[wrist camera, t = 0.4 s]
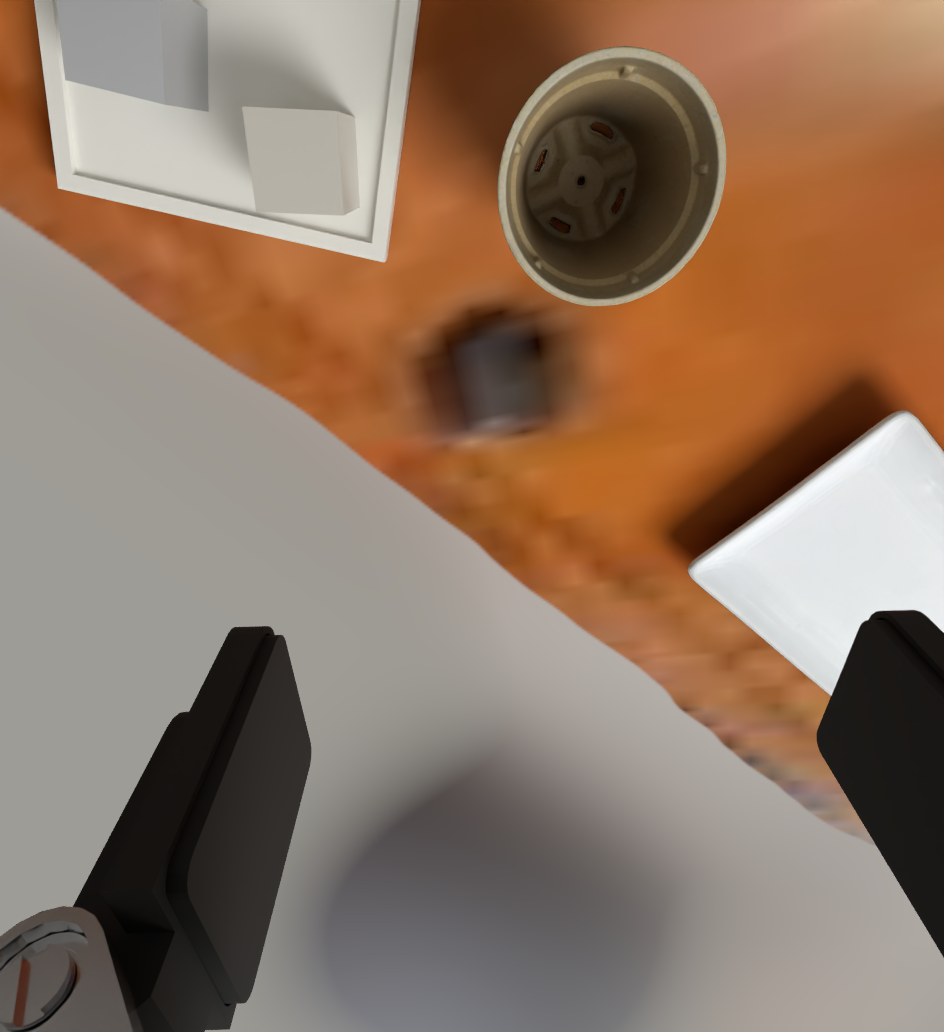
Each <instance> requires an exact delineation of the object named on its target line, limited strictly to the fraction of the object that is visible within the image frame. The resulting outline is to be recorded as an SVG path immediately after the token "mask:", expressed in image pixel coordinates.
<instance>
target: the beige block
mask: <svg viewBox="0 0 944 1032" xmlns="http://www.w3.org/2000/svg"><path fill="white" fill-rule="evenodd" d="M242 111H243V119H244V126H245V133H246V141H247V148H248V156H249V163H250V171H251V178H252V185H253V193H254V200H255V208H256V212H270V213H294V214H317V215H341V216H344V215H346V214H348V213H350V212H352V211H354V210H356V209H358V208H360V198H359V179H358V160H357V141H356V122H355V117H353V116H350V115H347V114H344V113H341V112H338V111H327V110H305V109H284V108H262V107H242Z"/></svg>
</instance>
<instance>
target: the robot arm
mask: <svg viewBox="0 0 944 1032" xmlns="http://www.w3.org/2000/svg"><path fill="white" fill-rule="evenodd" d="M817 744H818V747H819V750H820V752H821V754H822V756H823V758H824V759H825V761H826V763H827V764H828V766H829V768H830V769H831V771H832V773H833V774H834V776H835V778H836V779H837V781H838V783H839V784H840V786H841V788H842V789H843V791H844V793H845V794H846V796H847V798H848V799H849V801H850V803H851V804H852V806H853V808H854V809H855V811H856V813H857V814H858V816H859V818H860V819H861V821H862V823H863V824H864V826H865V828H866V829H867V831H868V832H869V834H870V836H871V837H872V839H873V841H874V842H875V844H876V846H877V847H878V849H879V850H880V852H881V854H882V856H883V857H884V859H885V861H886V862H887V864H888V866H889V867H890V869H891V871H892V872H893V874H894V876H895V877H896V879H897V881H898V882H899V884H900V886H901V887H902V889H903V890H904V892H905V894H906V895H907V897H908V899H909V900H910V902H911V904H912V905H913V907H914V909H915V911H916V912H917V914H918V915H919V917H920V919H921V920H922V922H923V924H924V925H925V927H926V929H927V930H928V932H929V934H930V935H931V937H932V939H933V940H934V942H935V943H936V945H937V947H938V949H939V950H940V952H941V953H942V955H943V957H944V633H943V632H942V631H941V630H940V629H939V628H938V627H937V626H936V625H935V624H934V623H933V622H932V621H931V620H930V619H929V618H928V617H927V616H926V615H925V614H923V613H922V612H920V611H917V610H890V611H876V612H875V613H873V614H872V615H871V616H870V618H869V620H866V621H864V622H863V623H862V624H861V625H860V627H859V629H858V632H857V634H856V637H855V639H854V642H853V644H852V647H851V649H850V652H849V654H848V656H847V659H846V661H845V664H844V666H843V669H842V671H841V674H840V676H839V679H838V681H837V683H836V686H835V688H834V691H833V693H832V696H831V698H830V701H829V703H828V706H827V708H826V710H825V713H824V715H823V718H822V720H821V723H820V725H819V728H818V731H817ZM310 761H311V743H310V738H309V734H308V730H307V726H306V722H305V719H304V714H303V710H302V706H301V702H300V698H299V694H298V690H297V686H296V682H295V677H294V673H293V669H292V665H291V661H290V657H289V653H288V649H287V645H286V641H285V638H284V637H283V636H282V635H274V632H273V630H272V628H271V627H268V626H262V627H234V628H233V629H231V631H230V632H229V633H228V635H227V637H226V639H225V641H224V643H223V646H222V647H221V649H220V651H219V653H218V655H217V657H216V659H215V661H214V663H213V665H212V668H211V669H210V671H209V673H208V675H207V677H206V679H205V681H204V684H203V685H202V687H201V689H200V691H199V693H198V695H197V698H196V699H195V702H194V703H193V705H192V707H191V709H190V711H189V712H182V713H179V714H178V715H177V716H176V717H174V718H173V719H172V721H171V722H170V724H169V725H168V727H167V729H166V731H165V732H164V734H163V736H162V738H161V740H160V742H159V744H158V746H157V748H156V750H155V751H154V753H153V755H152V757H151V759H150V761H149V763H148V765H147V767H146V769H145V771H144V772H143V774H142V776H141V778H140V780H139V782H138V784H137V786H136V788H135V790H134V792H133V793H132V795H131V797H130V799H129V801H128V803H127V805H126V807H125V809H124V810H123V812H122V814H121V816H120V818H119V820H118V822H117V824H116V826H115V828H114V829H113V831H112V833H111V835H110V837H109V839H108V841H107V843H106V845H105V847H104V848H103V850H102V852H101V854H100V856H99V858H98V860H97V862H96V864H95V866H94V868H93V870H92V871H91V873H90V875H89V877H88V879H87V881H86V883H85V885H84V887H83V888H82V891H81V893H80V894H79V896H78V898H77V900H76V902H75V904H74V906H73V907H65V906H63V907H58V908H54V909H50V910H46V911H42V912H39V913H38V914H36V915H33V916H31V917H30V918H28V919H26V920H24V921H21V922H19V923H18V924H16V925H15V926H14V927H13V928H11V929H10V930H8V931H7V932H6V933H4V934H3V935H2V936H0V1032H204V1031H205V1030H219V1029H220V1030H221V1029H230V1026H231V1023H232V1018H233V1015H234V1011H235V1008H236V1004H237V1003H245V1002H247V1000H248V998H249V997H250V994H251V992H252V989H253V986H254V982H255V978H256V974H257V971H258V966H259V963H260V959H261V955H262V951H263V947H264V943H265V939H266V935H267V931H268V928H269V924H270V919H271V915H272V912H273V908H274V904H275V900H276V896H277V892H278V888H279V885H280V881H281V877H282V873H283V869H284V865H285V861H286V857H287V853H288V849H289V845H290V842H291V838H292V834H293V830H294V826H295V822H296V818H297V814H298V810H299V806H300V802H301V799H302V794H303V790H304V787H305V783H306V779H307V775H308V771H309V767H310Z"/></svg>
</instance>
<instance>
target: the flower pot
mask: <svg viewBox="0 0 944 1032" xmlns="http://www.w3.org/2000/svg"><path fill="white" fill-rule="evenodd" d="M594 122H595V123H602V124H604V125H605V126H608V127H609V128H610V129H611V130H612V132H613V137H612V138H611V139H609V138H608V137H606V136H604V135H602V134H600V133H598V132H596V131H593V130H592V129H591V125H592V123H594ZM544 150H548V152H547V154H546V157H545V160H544V161H545V164H544V163H543V165H542V166H541V168H540V171H538V172H537V171H535V168H536V165H537V162H538V160H539V157H540V155H541V153H542V152H543V151H544ZM725 176H726V144H725V137H724V132H723V129H722V123H721V120H720V117H719V115H718V112H717V109H716V106H715V103H714V102H713V101H712V98H711V97H710V95H709V94H708V92H707V90H706V89H705V87H704V86H703V85H702V83H701V82H700V81H699V80H698V78H697V77H696V76H694V75H693V73H692V72H690V71H689V70H688V69H686V68H685V67H684V66H682V65H681V64H680V63H679V62H677V61H676V60H673V59H671V58H670V57H668V56H666V55H663V54H661V53H659V52H655V51H652V50H649V49H645V48H638V47H630V46H621V47H610V48H605V49H601V50H595V51H592V52H589V53H587V54H585V55H582V56H580V57H578V58H576V59H574V60H572V61H570V62H568V63H567V64H565V65H564V66H562V67H560V68H559V69H558V70H556V71H555V72H554V73H552V74H551V75H550V76H549V77H548V78H547V79H546V80H545V81H544V82H543V83H542V84H541V85H540V86H539V87H538V88H537V89H536V90H535V92H534V93H533V94H532V95H531V96H530V97H529V99H528V100H527V102H526V103H525V105H524V106H523V107H522V109H521V111H520V113H519V114H518V116H517V118H516V120H515V122H514V124H513V126H512V128H511V131H510V133H509V135H508V138H507V141H506V143H505V146H504V150H503V154H502V158H501V163H500V169H499V175H498V207H499V213H500V219H501V223H502V228H503V231H504V234H505V237H506V240H507V242H508V245H509V247H510V249H511V251H512V253H513V255H514V257H515V258H516V260H517V261H518V263H519V264H520V266H521V267H522V268H523V270H524V271H525V272H526V273H527V275H528V276H529V277H530V278H531V279H533V280H534V281H535V282H536V283H537V284H538V285H539V286H541V287H542V288H543V289H544V290H546V291H548V292H550V293H551V294H553V295H555V296H557V297H559V298H561V299H563V300H566V301H569V302H572V303H576V304H581V305H587V306H607V305H617V304H621V303H627V302H630V301H632V300H635V299H637V298H640V297H643V296H644V295H647V294H649V293H651V292H653V291H654V290H656V289H658V288H659V287H661V286H662V285H663V284H665V283H666V282H667V281H669V280H670V279H671V278H673V277H674V276H675V275H676V274H677V273H678V272H679V271H680V270H681V269H682V268H683V267H684V266H685V265H686V263H687V262H688V261H689V260H690V259H691V258H692V257H693V255H694V254H695V252H696V251H697V249H698V248H699V247H700V245H701V243H702V242H703V240H704V239H705V237H706V235H707V233H708V231H709V229H710V227H711V225H712V223H713V220H714V218H715V216H716V213H717V211H718V208H719V205H720V201H721V197H722V193H723V187H724V183H725ZM580 177H584V178H585V184H584V185H581V186H580V185H578V179H579V178H580ZM622 188H624V189H625V192H624V198H623V201H622V204H621V206H620V208H619V210H618V212H617V213H616V214H614V213H612V211H611V207H612V205H613V203H614V202H615V201H616V199H617V197H618V194H619V192H620V190H621V189H622ZM552 218H556V219H558V220H560V221H562V222H564V223H565V224H568V225H570V230H569V232H568V233H562V232H560V231H558V230H557V229H556V228H555V227H553V226H552V225H551V224H550V221H551V219H552Z"/></svg>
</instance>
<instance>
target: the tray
mask: <svg viewBox="0 0 944 1032" xmlns="http://www.w3.org/2000/svg"><path fill="white" fill-rule="evenodd" d="M688 573H689V575H690V577H691V578H692V579H693V580H694V581H695V582H696V583H697V584H699V585H700V586H701V587H702V588H703V589H704V590H705V591H707V592H708V593H709V594H710V595H711V596H713V597H714V598H715V599H716V600H718V601H719V602H720V603H721V604H723V605H724V606H725V607H726V608H727V609H728V610H730V611H731V612H732V613H733V614H734V615H736V616H737V617H738V618H739V619H740V620H742V621H743V622H744V623H745V624H746V625H747V626H749V627H750V628H751V629H752V630H753V631H755V632H756V633H757V634H758V635H759V636H760V637H762V638H763V639H764V640H765V641H766V642H767V643H769V644H770V645H771V646H772V647H773V648H774V649H776V650H777V651H778V652H779V653H780V654H782V655H783V656H784V657H785V658H786V659H787V660H789V661H790V662H791V663H792V664H793V665H795V666H796V667H797V668H798V669H799V670H800V671H802V672H803V673H804V674H805V675H806V676H808V677H809V678H810V679H811V680H812V681H814V682H815V683H816V684H817V685H819V686H820V687H821V688H822V689H823V690H824V691H826V692H827V693H828V694H829V695H830V696H832V693H833V691H834V688H835V686H836V683H837V681H838V679H839V676H840V674H841V671H842V669H843V666H844V664H845V661H846V659H847V656H848V654H849V652H850V649H851V647H852V644H853V642H854V639H855V637H856V634H857V632H858V629H859V627H860V625H861V624H862V623H863V622H864V621H866V620H869V618H870V616H871V615H872V614H873V613H875V612H876V611H890V610H917V611H920V612H922V613H923V614H925V615H926V616H927V617H928V618H929V619H930V620H931V621H932V622H933V623H934V624H935V625H936V626H937V627H938V628H939V629H940V630H941V631H942V632H943V633H944V451H943V450H942V449H941V448H940V446H939V445H938V444H937V442H936V441H935V440H934V438H933V437H932V436H931V435H930V433H929V432H928V431H927V429H926V428H925V427H924V426H923V424H922V423H921V422H920V421H919V419H918V418H916V417H915V416H914V415H913V414H912V413H910V412H908V411H905V410H901V411H897V412H895V413H892V414H890V415H889V416H887V417H885V418H884V419H883V420H881V421H880V422H879V423H877V424H876V425H875V426H873V427H872V428H871V429H869V430H868V431H867V432H865V433H864V434H863V435H861V436H860V437H859V438H857V439H856V440H855V441H854V442H852V443H851V444H850V445H848V446H847V447H846V448H845V449H843V450H842V451H841V452H839V453H838V454H837V455H835V456H834V457H833V458H831V459H830V460H829V461H827V462H826V463H825V464H823V465H822V466H821V467H819V468H818V469H817V470H815V471H814V472H813V473H811V474H810V475H809V476H808V477H806V478H805V479H804V480H802V481H801V482H800V483H798V484H797V485H796V486H794V487H793V488H792V489H790V490H789V491H788V492H786V493H785V494H784V495H782V496H781V497H780V498H778V499H777V500H776V501H774V502H773V503H772V504H770V505H769V506H768V507H766V508H765V509H763V510H762V511H761V512H759V513H758V514H757V515H755V516H754V517H752V518H751V519H750V520H748V521H747V522H746V523H744V524H743V525H741V526H740V527H739V528H737V529H736V530H734V531H733V532H732V533H730V534H729V535H727V536H726V537H725V538H723V539H722V540H720V541H719V542H718V543H716V544H715V545H713V546H712V547H711V548H709V549H708V550H706V551H705V552H704V553H702V554H701V555H699V556H698V557H697V558H695V559H694V560H693V561H692V563H691V564H690V565H689V567H688Z"/></svg>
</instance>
